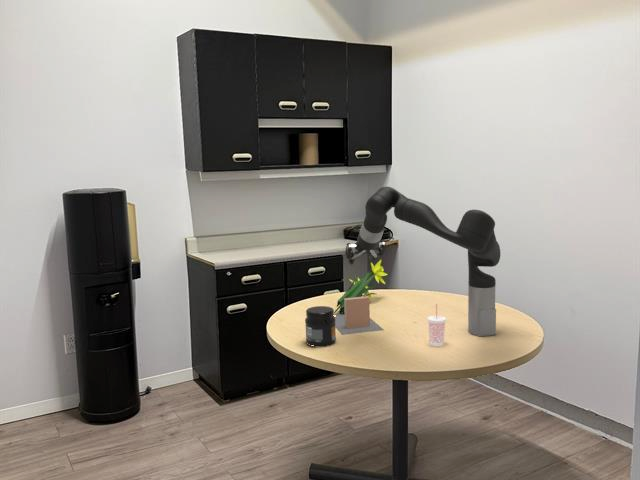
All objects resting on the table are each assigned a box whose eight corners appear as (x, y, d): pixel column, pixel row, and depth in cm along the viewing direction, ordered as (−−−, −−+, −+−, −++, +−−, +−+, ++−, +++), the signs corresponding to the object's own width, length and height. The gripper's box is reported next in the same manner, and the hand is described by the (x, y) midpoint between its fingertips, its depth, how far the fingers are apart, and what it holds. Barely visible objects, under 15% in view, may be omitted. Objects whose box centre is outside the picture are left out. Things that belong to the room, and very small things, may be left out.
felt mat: (384, 331, 216) (384, 330, 216) (342, 335, 212) (342, 334, 212) (362, 312, 241) (362, 311, 241) (324, 316, 237) (324, 315, 237)
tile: (369, 326, 221) (369, 297, 219) (346, 328, 219) (345, 300, 217) (367, 324, 223) (367, 296, 222) (344, 326, 221) (344, 298, 220)
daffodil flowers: (318, 313, 244) (356, 275, 271) (348, 333, 240) (383, 293, 267) (331, 284, 234) (369, 248, 261) (362, 304, 230) (397, 265, 257)
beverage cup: (424, 342, 202) (423, 302, 200) (439, 339, 204) (439, 300, 202) (433, 348, 197) (433, 307, 194) (449, 345, 199) (449, 304, 196)
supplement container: (339, 339, 209) (338, 306, 207) (331, 349, 199) (330, 314, 197) (310, 337, 212) (309, 305, 210) (302, 347, 202) (300, 313, 200)
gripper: (352, 244, 194) (343, 272, 207) (394, 241, 197) (382, 268, 210) (347, 226, 198) (339, 254, 211) (388, 223, 201) (377, 251, 214)
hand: (361, 261), depth 210 cm, fingers open, 7 cm apart
